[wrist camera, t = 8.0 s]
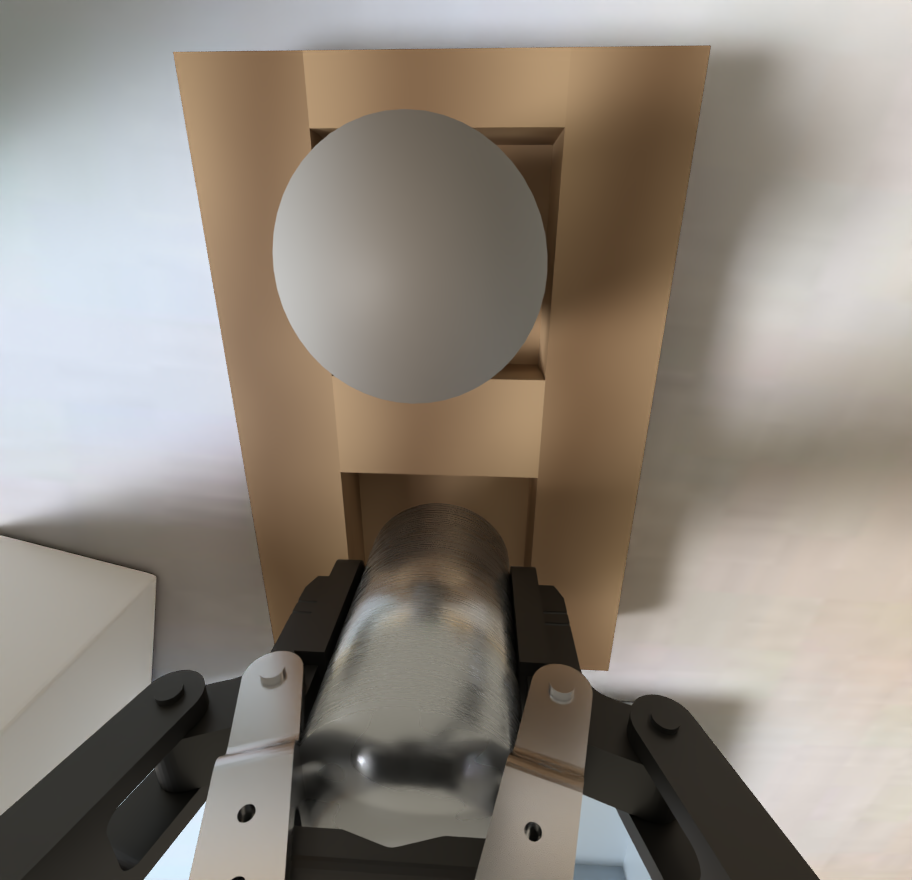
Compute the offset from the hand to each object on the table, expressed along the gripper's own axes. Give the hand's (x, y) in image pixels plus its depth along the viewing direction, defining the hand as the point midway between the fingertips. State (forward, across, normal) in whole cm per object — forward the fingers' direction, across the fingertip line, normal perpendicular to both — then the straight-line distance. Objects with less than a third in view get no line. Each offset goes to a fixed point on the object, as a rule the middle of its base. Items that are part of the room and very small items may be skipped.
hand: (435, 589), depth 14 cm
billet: (+1, 0, 0) cm, 1 cm away
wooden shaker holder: (+4, 0, -4) cm, 6 cm away
